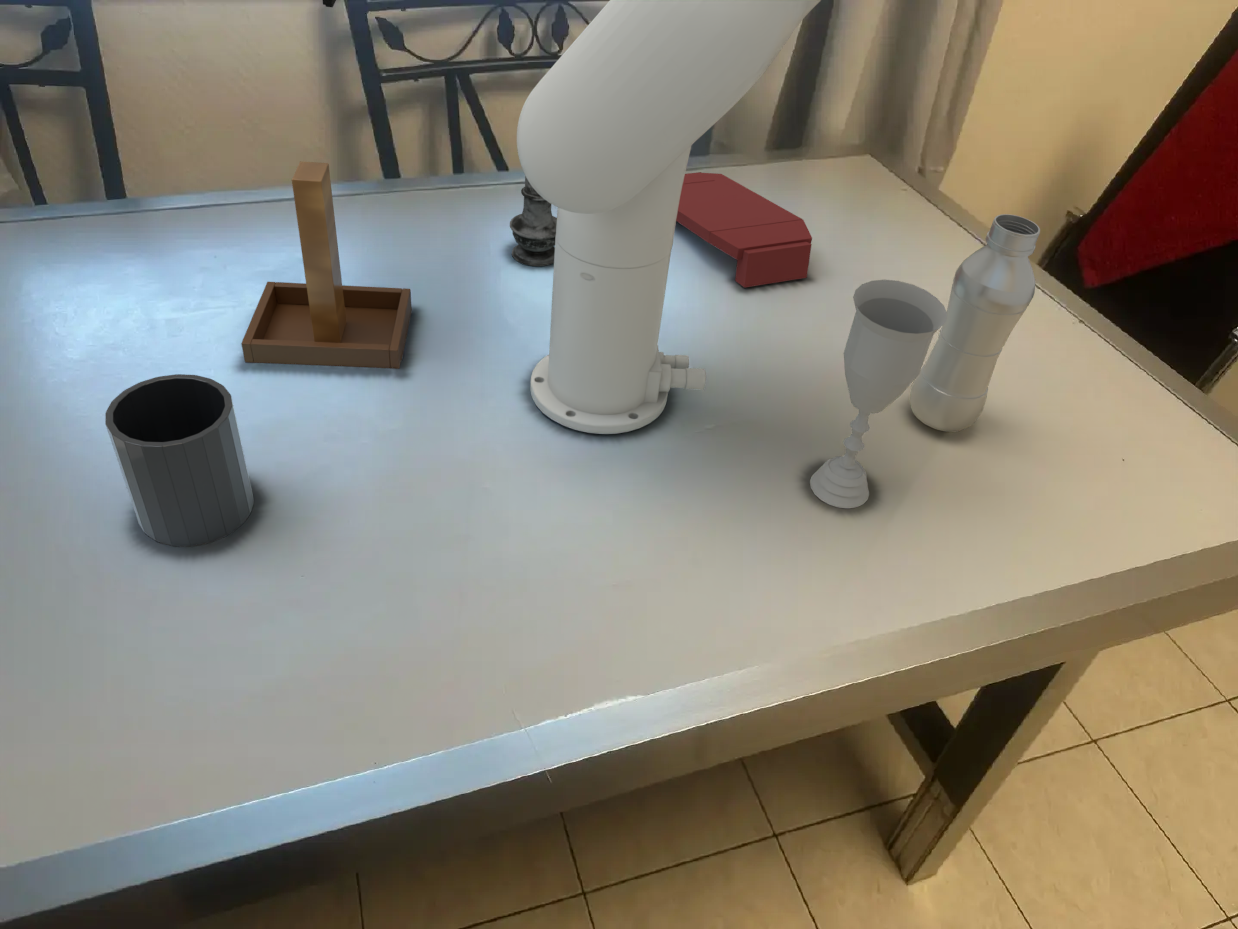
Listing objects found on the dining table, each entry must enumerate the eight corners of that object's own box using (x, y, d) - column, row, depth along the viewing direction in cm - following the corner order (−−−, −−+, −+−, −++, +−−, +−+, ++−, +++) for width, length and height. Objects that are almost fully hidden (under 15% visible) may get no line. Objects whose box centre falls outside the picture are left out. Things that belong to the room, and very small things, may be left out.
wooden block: (346, 322, 91) (328, 162, 81) (340, 343, 89) (321, 181, 78) (320, 320, 91) (299, 160, 81) (314, 342, 89) (291, 179, 78)
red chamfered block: (630, 217, 122) (728, 289, 103) (632, 179, 119) (732, 246, 101) (713, 207, 127) (821, 275, 108) (716, 170, 124) (828, 232, 105)
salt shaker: (572, 253, 107) (579, 149, 99) (541, 273, 103) (546, 167, 95) (529, 236, 109) (533, 133, 101) (498, 255, 105) (499, 149, 97)
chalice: (879, 525, 78) (950, 341, 66) (797, 508, 78) (852, 323, 67) (879, 468, 83) (944, 289, 71) (802, 452, 84) (853, 272, 72)
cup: (264, 479, 75) (244, 376, 69) (240, 553, 69) (215, 448, 63) (159, 476, 74) (127, 371, 68) (125, 550, 68) (87, 444, 62)
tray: (411, 310, 95) (410, 288, 93) (399, 373, 87) (398, 350, 85) (271, 304, 94) (267, 281, 92) (245, 367, 86) (240, 343, 84)
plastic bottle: (925, 389, 93) (998, 198, 80) (987, 423, 90) (1073, 230, 77) (889, 414, 89) (959, 218, 76) (952, 451, 86) (1037, 253, 73)
